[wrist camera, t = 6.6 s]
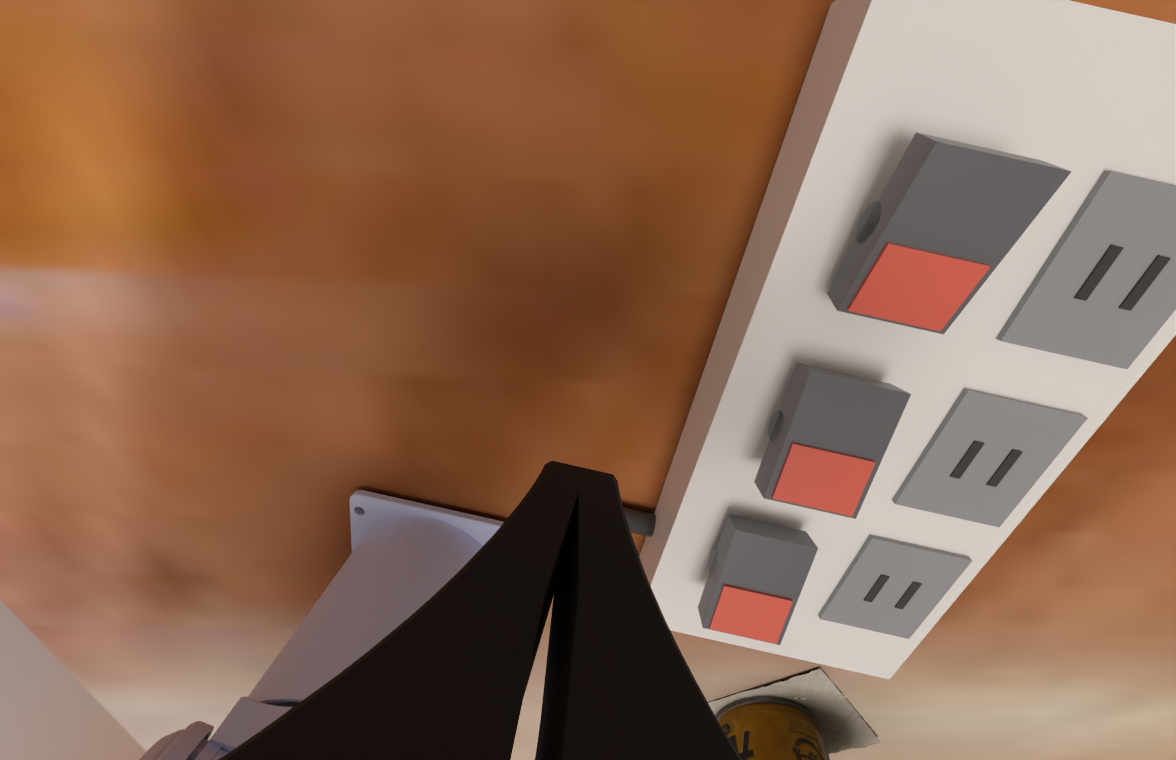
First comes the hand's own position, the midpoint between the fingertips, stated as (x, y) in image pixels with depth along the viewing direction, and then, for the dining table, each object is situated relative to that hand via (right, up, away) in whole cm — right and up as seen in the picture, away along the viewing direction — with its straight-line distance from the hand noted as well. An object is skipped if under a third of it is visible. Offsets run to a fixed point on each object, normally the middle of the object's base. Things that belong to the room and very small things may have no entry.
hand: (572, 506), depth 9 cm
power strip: (+8, +2, +8) cm, 12 cm away
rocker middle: (+7, +1, +5) cm, 9 cm away
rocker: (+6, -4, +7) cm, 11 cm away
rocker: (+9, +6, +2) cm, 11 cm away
